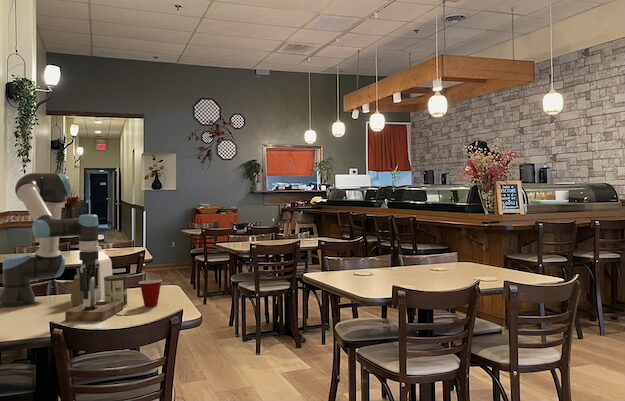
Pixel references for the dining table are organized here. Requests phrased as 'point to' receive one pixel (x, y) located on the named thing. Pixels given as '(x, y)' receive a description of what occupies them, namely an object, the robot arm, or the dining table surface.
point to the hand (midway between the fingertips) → (89, 305)
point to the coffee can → (116, 288)
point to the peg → (91, 295)
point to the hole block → (94, 311)
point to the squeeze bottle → (76, 291)
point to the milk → (102, 272)
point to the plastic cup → (150, 292)
